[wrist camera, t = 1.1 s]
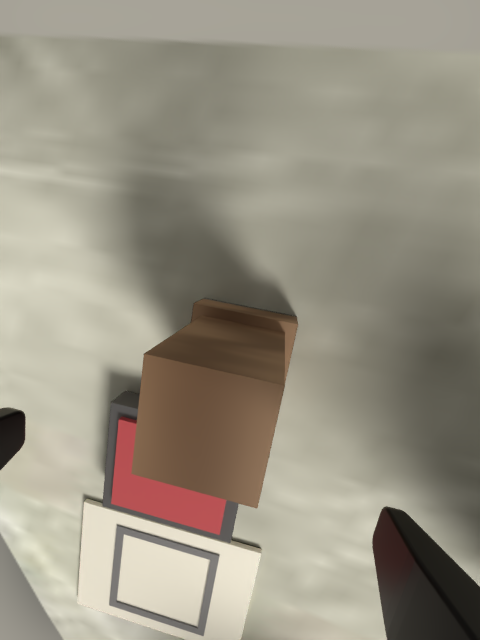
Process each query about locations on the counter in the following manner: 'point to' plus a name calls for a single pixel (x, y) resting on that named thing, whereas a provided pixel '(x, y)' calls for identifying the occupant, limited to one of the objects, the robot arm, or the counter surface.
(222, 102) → the counter surface
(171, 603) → the paper sheet
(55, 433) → the counter surface
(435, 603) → the robot arm
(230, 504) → the ink pad
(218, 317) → the stamp
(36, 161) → the counter surface
